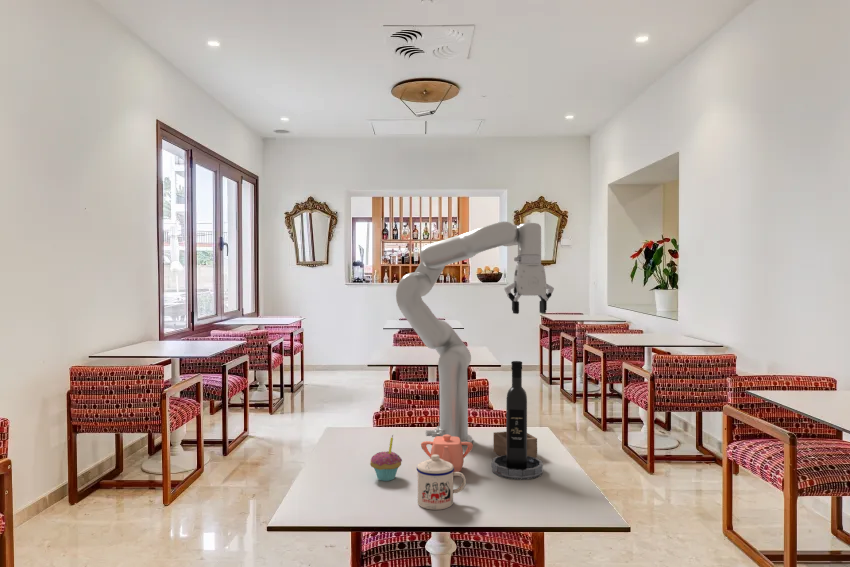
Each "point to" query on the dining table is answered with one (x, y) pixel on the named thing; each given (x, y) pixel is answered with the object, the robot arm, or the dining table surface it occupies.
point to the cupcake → (386, 464)
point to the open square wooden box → (501, 444)
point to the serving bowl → (531, 472)
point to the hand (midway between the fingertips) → (529, 313)
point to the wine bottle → (516, 421)
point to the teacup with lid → (437, 483)
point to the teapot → (448, 450)
